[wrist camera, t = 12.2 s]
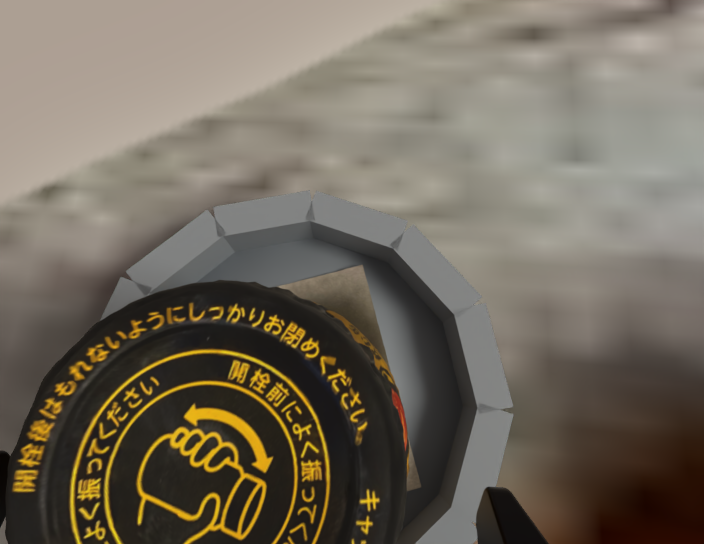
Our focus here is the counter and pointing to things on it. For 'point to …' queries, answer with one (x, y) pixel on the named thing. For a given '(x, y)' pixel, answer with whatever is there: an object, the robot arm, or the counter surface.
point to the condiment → (219, 423)
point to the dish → (394, 322)
